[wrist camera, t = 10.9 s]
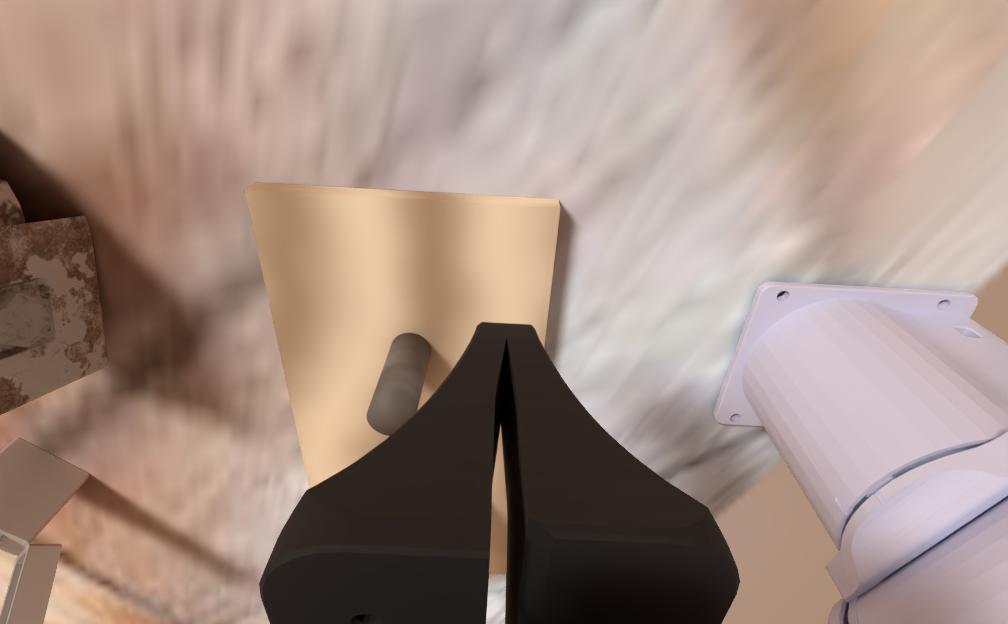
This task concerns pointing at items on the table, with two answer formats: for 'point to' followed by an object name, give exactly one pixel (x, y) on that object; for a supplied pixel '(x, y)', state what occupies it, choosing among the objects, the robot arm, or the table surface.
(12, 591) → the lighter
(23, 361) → the caster wheel
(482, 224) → the board
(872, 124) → the table surface
